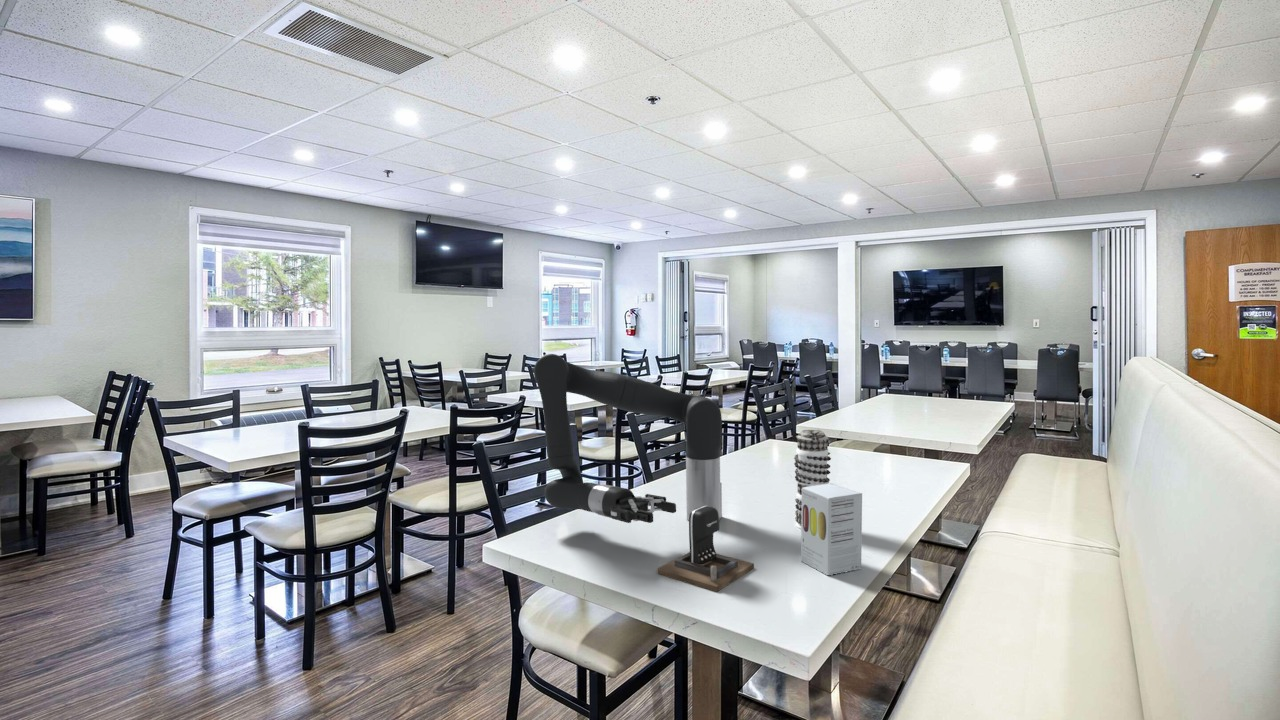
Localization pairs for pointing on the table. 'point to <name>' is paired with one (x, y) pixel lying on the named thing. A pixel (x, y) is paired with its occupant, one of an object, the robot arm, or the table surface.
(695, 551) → the battery charger
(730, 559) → the locating plate
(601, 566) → the table surface
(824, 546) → the supplement box
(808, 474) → the decorative candle
